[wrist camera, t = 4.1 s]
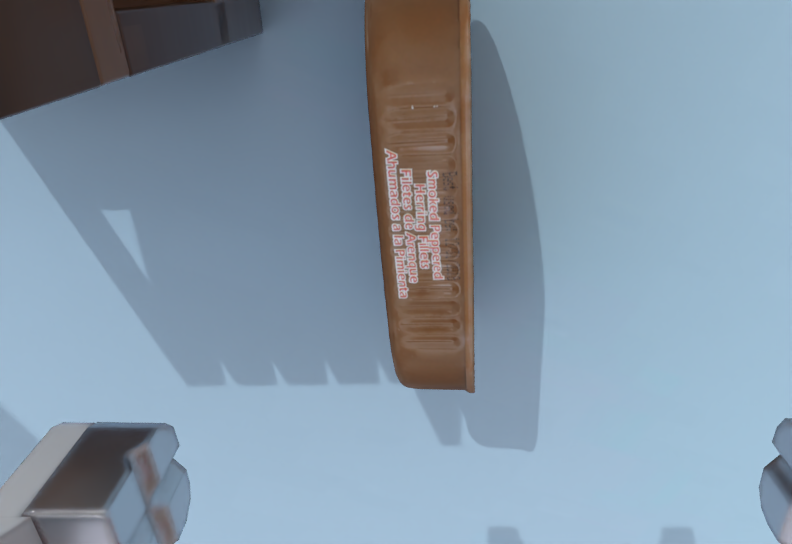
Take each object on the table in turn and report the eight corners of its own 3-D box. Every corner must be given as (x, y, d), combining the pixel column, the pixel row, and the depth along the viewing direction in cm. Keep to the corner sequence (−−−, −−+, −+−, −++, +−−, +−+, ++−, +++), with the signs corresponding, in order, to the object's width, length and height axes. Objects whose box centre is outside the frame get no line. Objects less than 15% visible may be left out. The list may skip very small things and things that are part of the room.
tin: (472, 313, 26) (494, 448, 19) (402, 316, 26) (396, 450, 19) (468, -76, 19) (499, -112, 12) (374, -69, 20) (346, -99, 12)
